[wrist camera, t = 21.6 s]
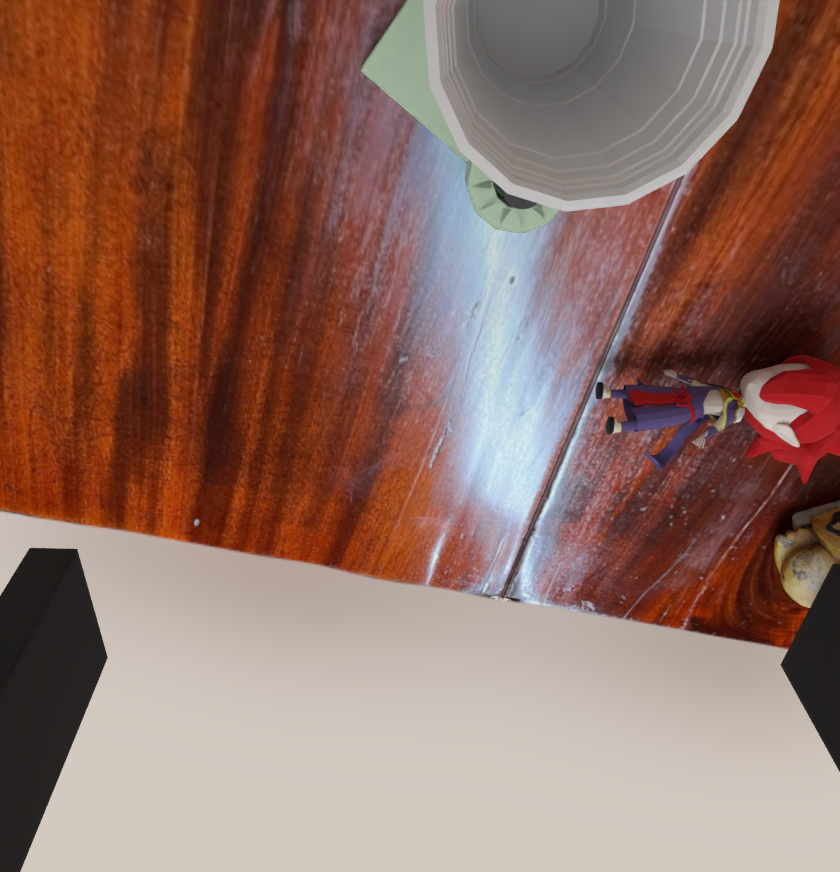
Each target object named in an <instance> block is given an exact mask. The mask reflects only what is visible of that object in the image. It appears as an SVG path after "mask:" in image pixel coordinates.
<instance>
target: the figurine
mask: <svg viewBox="0 0 840 872" xmlns="http://www.w3.org/2000/svg"><path fill="white" fill-rule="evenodd" d="M664 372H665V373H664V374H666V375H668V376H670V377H673V378H676V379H677V380H679V381H681V382H683V383H685V384H687V385H689V386H688V387H687V388H686V389H685V388H684V387H682V388H681V389H676V388H673V387H661V386H650V385H644V384H643V383H642V382H641V381H640V380H639V379H638V378H637V381H638V385H624V390H609V389H608V388H607V387H606V386H605V385H604V384H603V383H602V382H598V383H597V386H596V398H597V399H602V398H622V399H623V405H624V410H625V413H626V416H627V419H628V421H625V422H618V421H617V420H616V419H615V418H613V417H608V420H607V424H606V431H607V434H612V433H616V432H625V431H632V430H634V431H636V432H638V431H646V430H653V429H660V428H665V427H670V426H675V425H680V424H682V423H684V422H688V423H687V424H685V425H684V426H683V427H682V428H680V429H679V430H678V432H677V433H676V435H675V436H674V437H673V439H672V440H671V441H670V443H669V444H668V445H667V446H666V447H665V448H664V449H663V450H662V451H660V452H659V453H658V454H657V455H649V454H648V453H646V452H645V451H644V452H645V454H646V456H647V457H648V458H649V460H650V461H651V462H652V463H654V464H655V465H656V467H657V469H658V470H661V471H662V468H663V467H665V466H666V465H667V464H668V463H669V462H670V461H671V460H672V459H673V458H674V456H675V454H676V453H677V451H678V449H679V448H680V446H681V444H682V442H683V441H684V439H685V438H686V437H688V436H689V435H690V434H691V433H692V432H693V431H694V430H695V429H696V428H697V427H699V426H700V425H701V424H702V423H704V422H705V421H707V420H710V419H711V420H715V422H716V423H714V424H713V425H711V426H710V427H708V428H707V429H706V430H705V431H704V433H703V434H702V435H701V436H700V437H699V438H697V439H695V440H694V441H692V442H694V443H693V444H696V446H698V445H699V447H698V448H700V447H701V445H702V448H703V447H704V444H705V441H706V440H707V439H709V438H710V437H712V436H713V435H714V434H716V433H717V432H718V431H719V430H720V431H721V430H723V429H724V428H725V427H727V426H728V425H729V424H731V423H736V422H740V421H741V419H742V417H744V419H745V420H746V422H747V423H748V424H750V425H751V426H752V427H753V428H754V430H755V431H756V432H757V433H758V434H757V435H756V437H755V438H754V440H753V442H752V443H751V445H750V446H749V448H748V450H747V452H746V458H748V457H755V456H758V455H760V454H763V453H765V452H769V453H770V454H771V455H772V456H773V458H774V459H775V460H777V461H781V462H786V463H790V464H794V465H797V466H798V470H799V473H800V476H801V479H802V482H803V483H804V484H805V483H806V482H807V480H808V478H809V476H810V474H811V472H812V470H813V468H814V466H815V464H816V462H817V460H818V459H820V458H822V457H823V456H825V455H826V454H827V453H831V454H834V455H837V456H840V370H839V369H837V368H836V367H835V366H833V365H832V364H831V363H829V362H826V361H823V360H819V359H818V358H815V357H811V356H807V355H803V354H801V355H797V356H792V357H790V358H788V359H786V360H785V361H783V362H782V363H780V364H778V365H775V366H771V367H768V368H764V369H759V370H754V371H751V372H749V373H747V374H746V375H745V376H743V378H742V380H741V382H740V391H739V393H738V392H737V391H735V390H732V391H731V390H730V389H729V388H726V387H723V386H721V385H714V384H708V383H703V384H701V383H699V382H698V381H696V380H694V379H693V378H690V377H686V376H683V375H677V373H676V372H675V371H673V370H671V369H670V371H669V370H667V371H666V370H665V371H664Z"/></svg>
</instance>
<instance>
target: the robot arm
mask: <svg viewBox="0 0 840 872" xmlns="http://www.w3.org/2000/svg"><path fill="white" fill-rule="evenodd" d="M106 660H107V654H106V650H105V647H104V643H103V640H102V636H101V633H100V629H99V626H98V622H97V618H96V615H95V611H94V608H93V604H92V600H91V597H90V593H89V590H88V587H87V583H86V579H85V576H84V572H83V569H82V565H81V561H80V558H79V554H78V551H77V549H52V548H51V549H49V548H30V549H29V551H28V552H27V554H26V555H25V557H24V558H23V560H22V562H21V563H20V565H19V567H18V568H17V570H16V571H15V573H14V575H13V576H12V578H11V579H10V581H9V583H8V584H7V586H6V588H5V589H4V591H3V592H2V594H1V596H0V872H20V871H21V868H22V866H23V863H24V861H25V859H26V856H27V853H28V851H29V848H30V846H31V844H32V841H33V839H34V837H35V834H36V832H37V829H38V827H39V824H40V822H41V819H42V817H43V814H44V812H45V809H46V807H47V805H48V802H49V800H50V797H51V795H52V792H53V790H54V788H55V785H56V783H57V780H58V778H59V775H60V773H61V770H62V768H63V766H64V763H65V761H66V758H67V756H68V753H69V751H70V748H71V746H72V743H73V741H74V739H75V736H76V734H77V731H78V729H79V726H80V724H81V721H82V719H83V717H84V714H85V712H86V709H87V707H88V704H89V702H90V699H91V697H92V694H93V692H94V690H95V687H96V685H97V682H98V680H99V677H100V675H101V672H102V670H103V667H104V665H105V663H106ZM781 666H782V668H783V670H784V672H785V673H786V675H787V677H788V679H789V681H790V682H791V684H792V686H793V688H794V690H795V692H796V694H797V695H798V697H799V699H800V701H801V703H802V704H803V706H804V708H805V710H806V711H807V713H808V715H809V717H810V719H811V721H812V723H813V724H814V726H815V728H816V730H817V732H818V733H819V735H820V737H821V739H822V741H823V742H824V744H825V746H826V748H827V749H828V751H829V753H830V755H831V757H832V759H833V761H834V762H835V764H836V766H837V768H838V769H839V771H840V564H832V566H831V568H830V570H829V572H828V574H827V576H826V578H825V580H824V582H823V584H822V586H821V588H820V590H819V591H818V593H817V595H816V597H815V599H814V601H813V603H812V605H811V607H810V609H809V611H808V613H807V615H806V617H805V619H804V621H803V622H802V624H801V626H800V628H799V630H798V632H797V634H796V636H795V638H794V640H793V642H792V644H791V646H790V648H789V650H788V652H787V653H786V655H785V658H784V659H783V661H782V663H781Z"/></svg>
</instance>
